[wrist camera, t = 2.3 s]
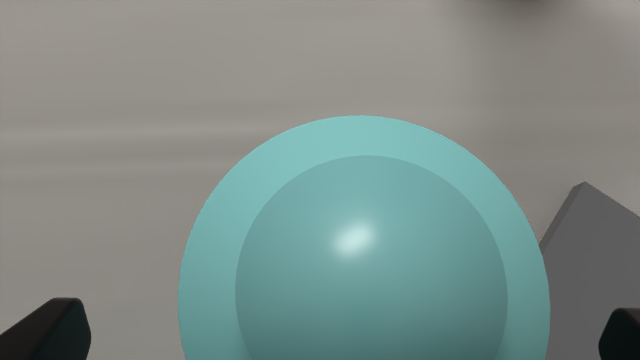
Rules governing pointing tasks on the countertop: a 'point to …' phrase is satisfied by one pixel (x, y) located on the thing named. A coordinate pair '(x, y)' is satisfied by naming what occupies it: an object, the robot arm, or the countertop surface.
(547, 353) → the mat
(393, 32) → the countertop surface
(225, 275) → the teal cylinder
